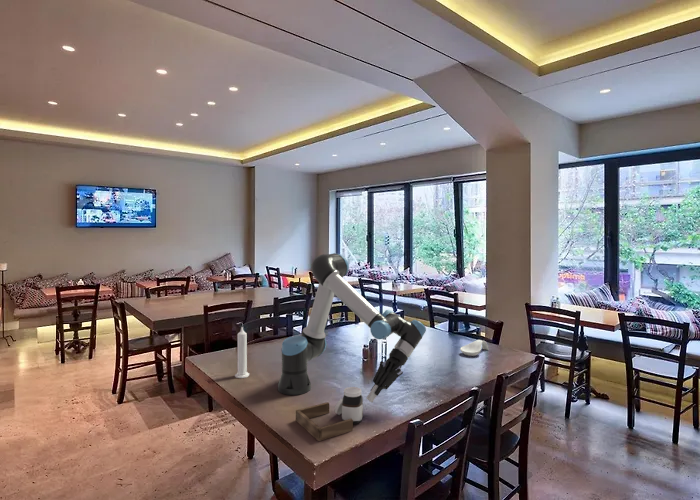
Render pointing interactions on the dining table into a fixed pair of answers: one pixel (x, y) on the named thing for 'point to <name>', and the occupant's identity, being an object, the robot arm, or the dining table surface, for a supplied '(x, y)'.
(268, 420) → the dining table surface
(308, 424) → the walnut bay
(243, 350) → the candle
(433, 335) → the dining table surface
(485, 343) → the spoon rest
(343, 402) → the spread jar
